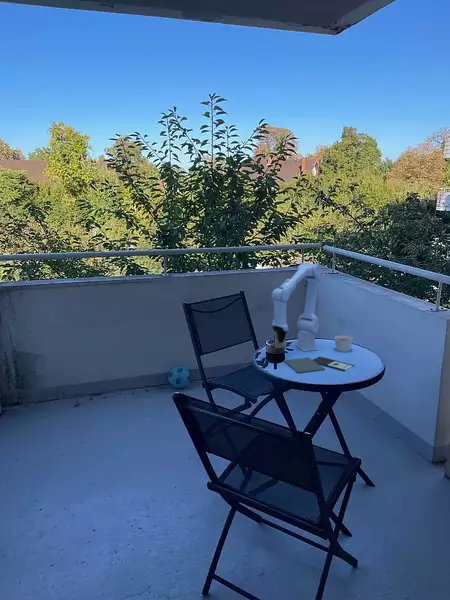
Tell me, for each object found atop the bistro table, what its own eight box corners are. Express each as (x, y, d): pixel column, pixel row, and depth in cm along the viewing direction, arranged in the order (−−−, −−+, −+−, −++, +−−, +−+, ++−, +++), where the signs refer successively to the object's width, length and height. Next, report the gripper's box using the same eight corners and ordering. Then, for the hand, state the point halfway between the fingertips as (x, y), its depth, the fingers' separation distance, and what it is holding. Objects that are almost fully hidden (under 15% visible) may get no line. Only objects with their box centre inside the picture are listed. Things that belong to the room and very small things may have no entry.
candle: (339, 346, 219) (339, 334, 217) (355, 349, 213) (356, 337, 212) (330, 350, 212) (331, 338, 211) (347, 354, 206) (348, 341, 205)
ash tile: (274, 347, 199) (274, 331, 198) (284, 346, 200) (284, 330, 199) (276, 348, 197) (275, 332, 196) (285, 347, 199) (285, 330, 197)
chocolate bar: (319, 356, 202) (354, 365, 190) (319, 358, 202) (353, 367, 190) (309, 361, 196) (343, 370, 183) (309, 363, 196) (343, 372, 184)
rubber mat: (283, 361, 197) (283, 360, 197) (308, 358, 201) (308, 357, 201) (298, 373, 182) (298, 372, 182) (324, 370, 186) (325, 368, 186)
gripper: (266, 311, 202) (266, 338, 204) (278, 318, 188) (278, 347, 191) (280, 310, 203) (280, 337, 206) (292, 316, 190) (292, 345, 192)
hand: (280, 341), depth 198 cm, fingers closed on ash tile, 2 cm apart
